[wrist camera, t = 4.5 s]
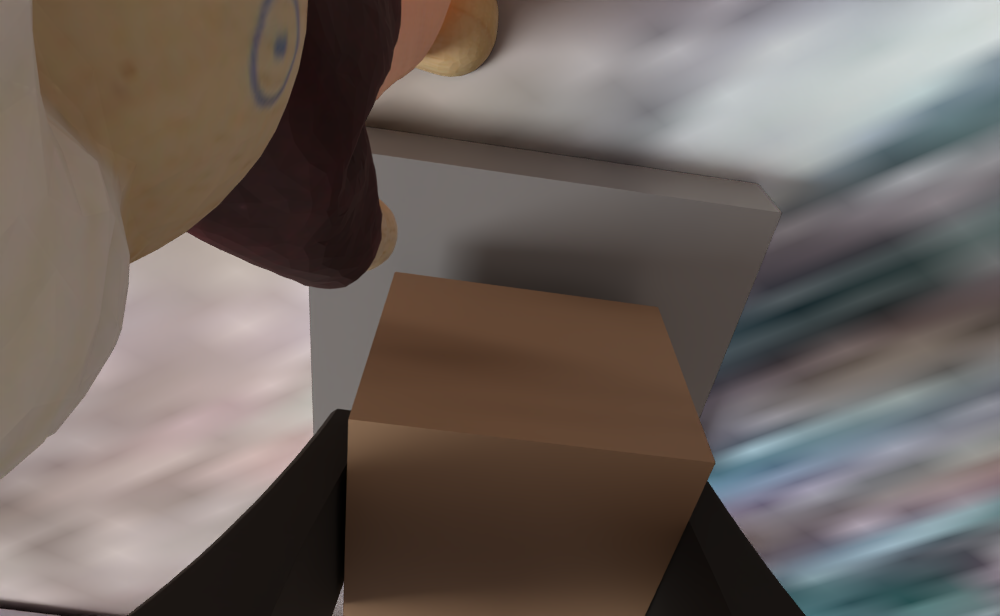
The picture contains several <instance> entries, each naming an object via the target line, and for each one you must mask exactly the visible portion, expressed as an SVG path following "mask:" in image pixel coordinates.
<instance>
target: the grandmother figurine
mask: <svg viewBox="0 0 1000 616" xmlns="http://www.w3.org/2000/svg"><path fill="white" fill-rule="evenodd" d="M498 14H499V13H498V5H497V1H496V0H0V480H1V479H2V478H3V477H4V476H5V475H7V474H8V473H9V472H10V471H11V470H12V469H13V468H15V467H16V466H17V465H18V464H19V463H20V462H22V461H23V460H24V459H25V458H26V457H27V456H28V455H30V454H31V453H32V452H33V451H34V450H35V449H36V448H38V447H39V446H40V445H41V444H42V443H43V442H44V441H45V439H46V438H47V437H49V436H50V435H52V434H54V433H55V432H56V431H57V430H58V429H59V427H60V426H61V425H62V424H63V422H64V421H65V420H66V419H67V417H68V416H69V415H70V414H71V413H72V411H73V410H74V409H75V408H76V406H77V405H78V404H79V403H80V401H81V400H82V399H83V398H84V396H85V395H86V393H87V392H88V390H89V388H90V387H91V385H92V384H93V382H94V380H95V379H96V377H97V375H98V374H99V372H100V371H101V369H102V367H103V366H104V364H105V362H106V361H107V359H108V358H109V356H110V354H111V352H112V351H113V349H114V347H115V345H116V343H117V340H118V338H119V335H120V332H121V330H122V324H123V317H124V311H125V304H126V298H127V292H128V285H129V264H130V263H132V262H134V261H136V260H138V259H140V258H142V257H144V256H146V255H148V254H150V253H152V252H154V251H156V250H158V249H159V248H161V247H163V246H164V245H166V244H167V243H169V242H171V241H172V240H174V239H176V238H177V237H179V236H180V235H182V234H184V233H185V232H188V233H190V234H191V235H193V236H195V237H196V238H198V239H200V240H202V241H204V242H206V243H208V244H210V245H212V246H214V247H216V248H218V249H220V250H223V251H225V252H227V253H229V254H232V255H234V256H236V257H239V258H241V259H243V260H245V261H247V262H249V263H251V264H253V265H256V266H259V267H261V268H264V269H267V270H269V271H272V272H274V273H276V274H278V275H280V276H283V277H285V278H289V279H292V280H295V281H297V282H299V283H301V284H303V285H305V286H311V287H316V288H322V289H337V288H343V287H346V286H348V285H350V284H351V283H353V282H355V281H357V280H358V279H359V278H360V277H361V276H362V275H363V274H364V273H365V272H366V271H369V270H372V269H374V268H376V267H378V266H379V265H381V264H382V263H383V262H385V261H386V260H387V259H388V258H389V257H390V255H391V254H392V252H393V250H394V248H395V245H396V241H397V233H398V227H397V224H396V220H395V217H394V215H393V213H392V211H391V210H390V209H389V208H388V207H387V205H386V204H385V203H383V202H382V201H381V200H380V199H379V196H378V186H377V177H376V169H375V166H374V162H373V157H372V152H371V147H370V142H369V138H368V134H367V130H366V126H365V121H366V119H367V117H368V115H369V113H370V111H371V109H372V107H373V105H374V102H375V101H376V100H377V99H378V98H379V97H380V96H381V95H382V94H383V92H384V91H385V90H387V89H388V88H389V87H390V86H391V85H392V84H393V83H395V82H396V81H397V80H399V79H401V78H403V77H404V76H405V75H407V74H408V73H409V72H410V71H412V70H413V69H414V68H418V69H421V70H424V71H427V72H431V73H434V74H437V75H441V76H449V77H453V76H462V75H465V74H468V73H470V72H472V71H474V70H476V69H477V68H478V67H479V66H480V65H482V64H483V62H484V61H485V60H486V59H487V58H488V56H489V54H490V52H491V51H492V49H493V47H494V44H495V40H496V36H497V28H498Z"/></svg>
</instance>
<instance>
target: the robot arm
mask: <svg viewBox="0 0 1000 616" xmlns="http://www.w3.org/2000/svg"><path fill="white" fill-rule="evenodd" d="M350 413H351V410H344V409H336V410H334V411H333V412H331V413H330V415H329V416H328V418H327V419H326V420H325V422H324V423H323V424H322V426H321V427H320V428H319V429H318V431H317V432H316V433H315V435H314V436H313V437H312V438H311V440H310V441H309V442H308V443H307V445H306V446H305V447H304V448H303V449H302V451H301V452H300V453H299V454H298V455H297V456H296V458H295V459H294V460H293V461H292V462H291V463H290V465H289V466H288V467H287V468H286V469H285V470H284V471H283V472H282V473H281V475H280V476H279V477H278V478H277V479H276V480H275V481H274V482H273V483H272V484H271V486H270V487H269V488H268V489H267V490H266V491H265V492H264V493H263V494H262V495H261V496H260V497H259V499H258V500H257V501H256V502H255V503H254V504H253V505H252V506H251V507H250V508H249V509H248V510H247V511H246V512H245V513H244V514H243V515H242V516H241V517H240V518H239V519H238V520H237V521H236V522H235V523H234V524H232V525H231V526H230V527H229V528H228V529H227V530H226V531H225V532H224V533H223V534H222V535H221V536H220V537H219V538H218V539H217V540H216V541H215V542H214V543H213V544H212V545H211V546H210V547H209V548H207V549H206V550H205V551H204V552H203V553H202V554H201V555H200V556H199V557H198V558H196V559H195V560H194V561H193V562H192V563H191V564H190V565H188V566H187V567H186V568H185V569H184V570H183V571H181V572H180V573H179V574H178V575H177V576H176V577H174V578H173V579H172V580H171V581H170V582H169V583H167V584H166V585H165V586H164V587H163V588H161V589H160V590H159V591H158V592H156V593H155V594H154V595H153V596H151V597H150V598H149V599H148V600H146V601H145V602H144V603H143V604H141V605H140V606H139V607H137V608H136V609H135V610H134V611H132V612H131V613H130V614H129V615H127V616H332V614H333V611H334V608H335V605H336V603H337V600H338V597H339V594H340V591H341V588H342V586H343V583H344V567H345V529H346V491H347V453H348V419H349V416H350ZM0 616H59V615H51V614H42V613H34V612H25V611H17V610H8V609H0ZM645 616H806V615H805V614H804V613H803V612H802V610H801V609H800V608H799V607H798V605H797V604H796V603H795V602H794V600H793V599H792V598H791V597H790V595H789V594H788V593H787V592H786V591H785V589H784V588H783V587H782V585H781V584H780V583H779V581H778V580H777V579H776V578H775V576H774V575H773V574H772V572H771V571H770V570H769V568H768V567H767V566H766V564H765V563H764V561H763V560H762V559H761V557H760V556H759V555H758V553H757V552H756V550H755V549H754V548H753V546H752V545H751V544H750V542H749V541H748V539H747V538H746V537H745V535H744V534H743V532H742V531H741V530H740V528H739V527H738V525H737V524H736V522H735V521H734V519H733V518H732V517H731V515H730V514H729V512H728V511H727V509H726V508H725V506H724V505H723V503H722V502H721V500H720V499H719V497H718V496H717V494H716V493H715V491H714V490H713V488H712V487H711V485H710V484H709V482H708V481H707V482H706V484H705V486H704V489H703V491H702V493H701V495H700V497H699V499H698V502H697V504H696V506H695V508H694V510H693V512H692V515H691V517H690V519H689V521H688V523H687V525H686V528H685V530H684V532H683V534H682V536H681V538H680V541H679V543H678V545H677V547H676V549H675V551H674V554H673V556H672V558H671V560H670V562H669V564H668V567H667V569H666V571H665V573H664V575H663V577H662V580H661V582H660V584H659V586H658V588H657V590H656V593H655V595H654V597H653V599H652V601H651V603H650V606H649V608H648V610H647V612H646V614H645Z"/></svg>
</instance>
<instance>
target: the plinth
mask: <svg viewBox="0 0 1000 616" xmlns="http://www.w3.org/2000/svg"><path fill="white" fill-rule="evenodd" d="M366 130H367V134H368V138H369V142H370V147H371V152H372V157H373V162H374V166H375V169H376V177H377V186H378V196H379V199H380V200H381V201H382V202H383V203H385V204H386V205H387V207H388V208H389V209H390V210H391V211H392V213H393V215H394V217H395V220H396V224H397V227H398V233H397V241H396V245H395V248H394V250H393V252H392V254H391V255H390V257H389V258H388V259H387V260H386V261H385V262H383V263H382V264H381V265H379V266H378V267H376V268H374V269H372V270H369V271H366V272H365V273H364V274H363V275H362V276H361V277H360V278H359V279H358V280H357V281H355V282H353V283H351V284H350V285H348V286H346V287H343V288H337V289H322V288H316V287H311V286H309V307H310V338H311V370H312V401H313V433H314V435H315V433H316V432H317V431H318V429H319V428H320V427H321V426H322V424H323V423H324V422H325V420H326V419H327V418H328V416H329V415H330V413H331V412H333V411H334V410H336V409H344V410H351V409H352V406H353V403H354V400H355V397H356V394H357V390H358V387H359V384H360V381H361V378H362V375H363V371H364V368H365V365H366V362H367V359H368V356H369V352H370V349H371V346H372V343H373V340H374V337H375V333H376V330H377V327H378V324H379V321H380V318H381V314H382V311H383V308H384V305H385V302H386V299H387V295H388V292H389V289H390V286H391V283H392V280H393V276H394V273H395V272H401V273H409V274H416V275H424V276H431V277H438V278H446V279H453V280H461V281H468V282H476V283H483V284H490V285H498V286H505V287H513V288H520V289H528V290H535V291H542V292H550V293H557V294H565V295H572V296H580V297H587V298H594V299H602V300H609V301H617V302H624V303H632V304H639V305H646V306H654V307H658V308H659V311H660V314H661V316H662V319H663V322H664V325H665V327H666V330H667V333H668V335H669V338H670V341H671V344H672V346H673V349H674V352H675V354H676V357H677V360H678V363H679V365H680V368H681V371H682V373H683V376H684V379H685V382H686V384H687V387H688V390H689V392H690V395H691V398H692V401H693V403H694V406H695V409H696V411H697V414H698V417H699V418H700V416H701V413H702V411H703V408H704V406H705V403H706V401H707V398H708V396H709V393H710V391H711V388H712V386H713V383H714V381H715V378H716V376H717V373H718V371H719V368H720V366H721V363H722V361H723V358H724V356H725V353H726V351H727V348H728V346H729V343H730V341H731V338H732V336H733V333H734V331H735V328H736V326H737V324H738V321H739V319H740V316H741V314H742V311H743V309H744V306H745V304H746V301H747V299H748V296H749V294H750V291H751V289H752V286H753V284H754V281H755V279H756V276H757V274H758V271H759V269H760V266H761V264H762V261H763V259H764V256H765V254H766V251H767V249H768V246H769V244H770V241H771V239H772V236H773V234H774V231H775V229H776V226H777V224H778V221H779V219H780V216H781V214H782V212H781V211H780V210H779V208H778V207H777V206H776V205H775V204H774V202H773V201H772V200H771V199H770V198H769V196H768V195H767V194H766V193H765V191H764V190H763V189H762V188H761V187H760V185H759V184H757V183H750V182H743V181H736V180H729V179H722V178H715V177H709V176H702V175H695V174H688V173H681V172H674V171H667V170H660V169H654V168H647V167H640V166H633V165H626V164H619V163H612V162H606V161H599V160H592V159H585V158H578V157H571V156H564V155H557V154H551V153H544V152H537V151H530V150H523V149H516V148H509V147H503V146H496V145H489V144H482V143H475V142H468V141H461V140H454V139H448V138H441V137H434V136H427V135H420V134H413V133H406V132H400V131H393V130H386V129H379V128H372V127H366Z"/></svg>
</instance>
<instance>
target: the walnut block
mask: <svg viewBox="0 0 1000 616" xmlns="http://www.w3.org/2000/svg"><path fill="white" fill-rule="evenodd" d="M714 465H715V460H714V458H713V455H712V452H711V450H710V447H709V444H708V441H707V439H706V436H705V433H704V431H703V428H702V425H701V422H700V420H699V417H698V414H697V411H696V409H695V406H694V403H693V401H692V398H691V395H690V392H689V390H688V387H687V384H686V382H685V379H684V376H683V373H682V371H681V368H680V365H679V363H678V360H677V357H676V354H675V352H674V349H673V346H672V344H671V341H670V338H669V335H668V333H667V330H666V327H665V325H664V322H663V319H662V316H661V314H660V311H659V308H658V307H654V306H646V305H639V304H632V303H624V302H617V301H609V300H602V299H594V298H587V297H580V296H572V295H565V294H557V293H550V292H542V291H535V290H528V289H520V288H513V287H505V286H498V285H490V284H483V283H476V282H468V281H461V280H453V279H446V278H438V277H431V276H424V275H416V274H409V273H401V272H395V273H394V276H393V280H392V283H391V286H390V289H389V292H388V295H387V299H386V302H385V305H384V308H383V311H382V314H381V318H380V321H379V324H378V327H377V330H376V333H375V337H374V340H373V343H372V346H371V349H370V352H369V356H368V359H367V362H366V365H365V368H364V371H363V375H362V378H361V381H360V384H359V387H358V390H357V394H356V397H355V400H354V403H353V406H352V409H351V413H350V416H349V419H348V453H347V491H346V529H345V567H344V604H343V616H645V614H646V612H647V610H648V608H649V606H650V603H651V601H652V599H653V597H654V595H655V593H656V590H657V588H658V586H659V584H660V582H661V580H662V577H663V575H664V573H665V571H666V569H667V567H668V564H669V562H670V560H671V558H672V556H673V554H674V551H675V549H676V547H677V545H678V543H679V541H680V538H681V536H682V534H683V532H684V530H685V528H686V525H687V523H688V521H689V519H690V517H691V515H692V512H693V510H694V508H695V506H696V504H697V502H698V499H699V497H700V495H701V493H702V491H703V489H704V486H705V484H706V482H707V480H708V478H709V476H710V473H711V471H712V469H713V467H714Z"/></svg>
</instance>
